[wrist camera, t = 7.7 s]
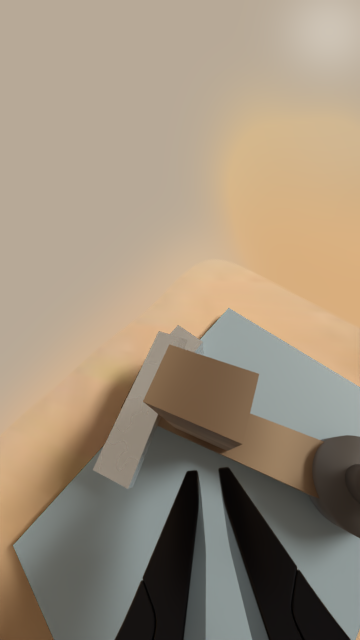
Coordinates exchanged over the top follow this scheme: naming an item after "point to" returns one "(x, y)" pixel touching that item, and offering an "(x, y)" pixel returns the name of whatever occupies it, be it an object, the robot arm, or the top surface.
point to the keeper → (139, 415)
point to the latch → (254, 433)
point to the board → (161, 490)
